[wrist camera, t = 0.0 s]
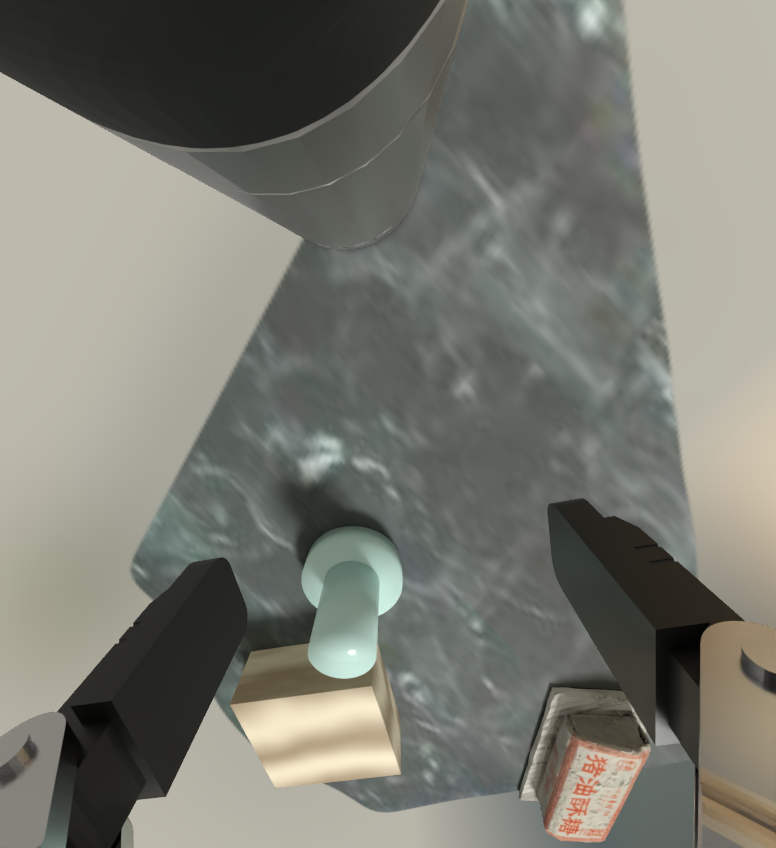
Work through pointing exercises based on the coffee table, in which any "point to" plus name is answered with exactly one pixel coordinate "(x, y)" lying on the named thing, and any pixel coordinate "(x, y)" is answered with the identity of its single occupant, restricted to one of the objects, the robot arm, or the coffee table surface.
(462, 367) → the coffee table surface
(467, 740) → the coffee table surface
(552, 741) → the packaged product
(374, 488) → the coffee table surface
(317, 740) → the block
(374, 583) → the mint green knob
